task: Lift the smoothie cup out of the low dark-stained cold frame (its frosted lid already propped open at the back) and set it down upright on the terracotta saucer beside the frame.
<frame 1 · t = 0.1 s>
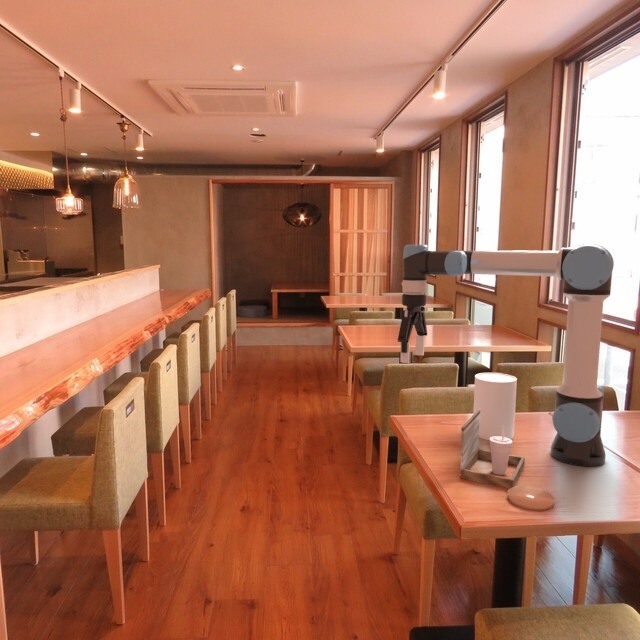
hand: (412, 358, 174), 28 cm above the table, fingers open, 13 cm apart
canister: (492, 434, 185), on the table
smoothie: (499, 472, 154), resting in cold frame
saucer: (530, 499, 137), on the table
cold frame: (493, 471, 154), on the table
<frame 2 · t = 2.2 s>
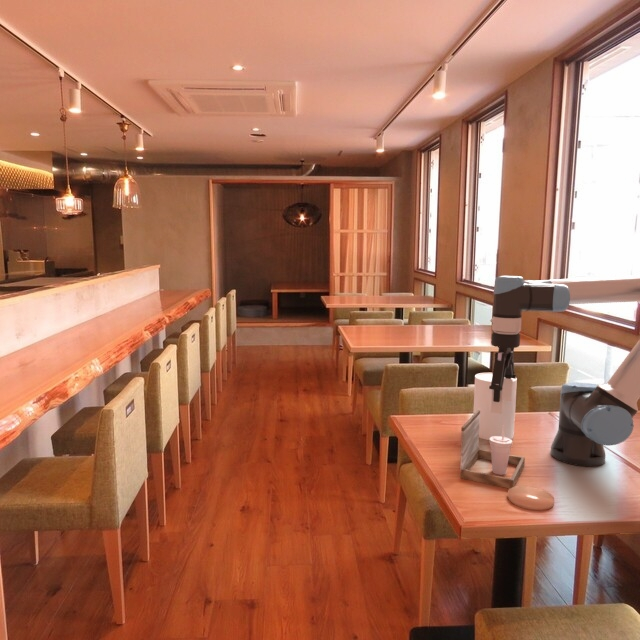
hand: (501, 406, 151), 19 cm above the table, fingers open, 13 cm apart
nothing on the table moved.
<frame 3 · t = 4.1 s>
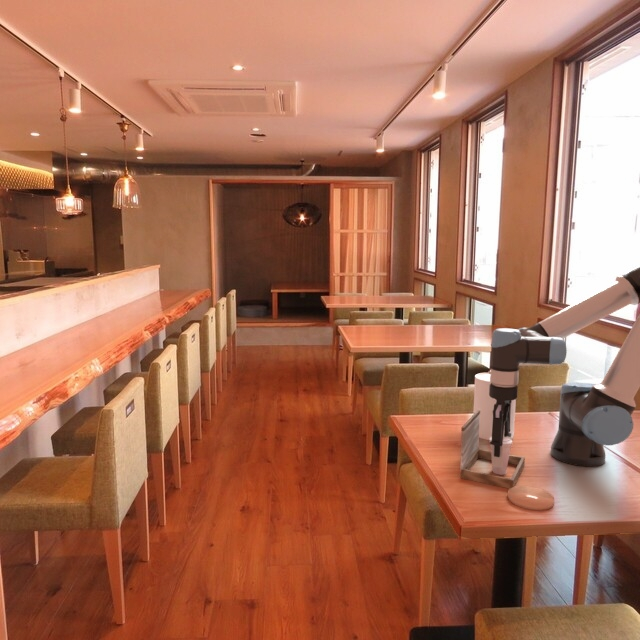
hand: (499, 462, 154), 3 cm above the table, fingers closed on smoothie, 6 cm apart
smoothie: (499, 472, 154), resting in cold frame, touching gripper
everything else where it was.
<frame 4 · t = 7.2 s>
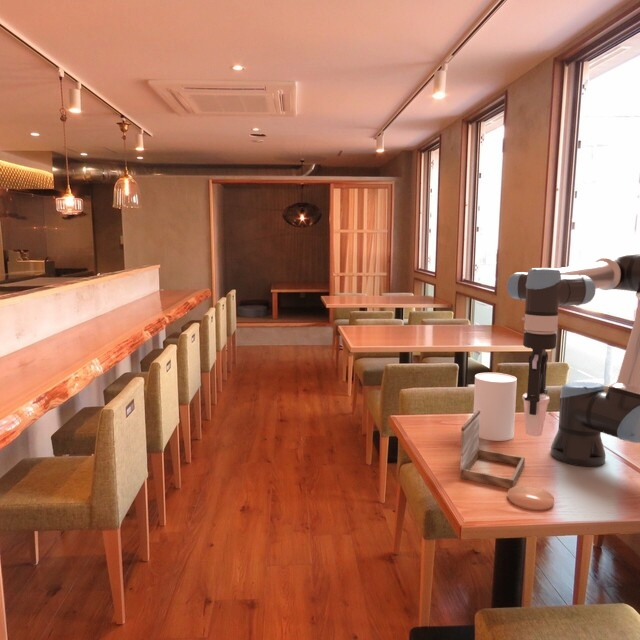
hand: (534, 422, 134), 21 cm above the table, fingers closed on smoothie, 6 cm apart
smoothie: (533, 434, 135), point 17 cm above the table, touching gripper
everything else where it was.
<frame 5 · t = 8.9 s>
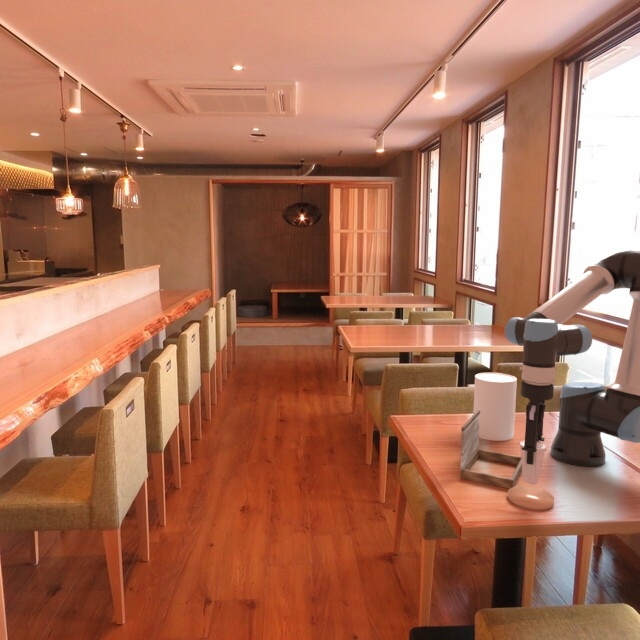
hand: (531, 470, 136), 8 cm above the table, fingers closed on smoothie, 6 cm apart
smoothie: (530, 481, 137), point 5 cm above the table, touching gripper
everything else where it was.
when the fingers open (5 cm above the table, at t = 10.2 s): smoothie stays where it is, resting on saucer.
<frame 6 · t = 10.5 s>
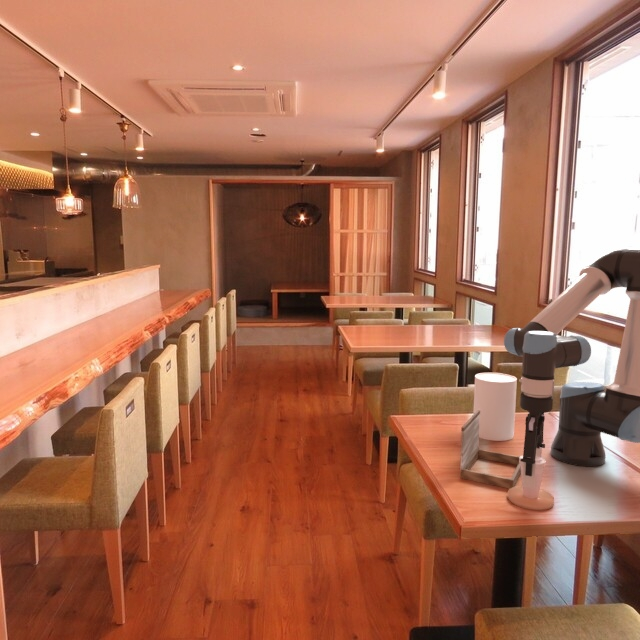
hand: (531, 479, 136), 6 cm above the table, fingers open, 9 cm apart
smoothie: (530, 496, 137), point 1 cm above the table, touching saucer
everything else where it was.
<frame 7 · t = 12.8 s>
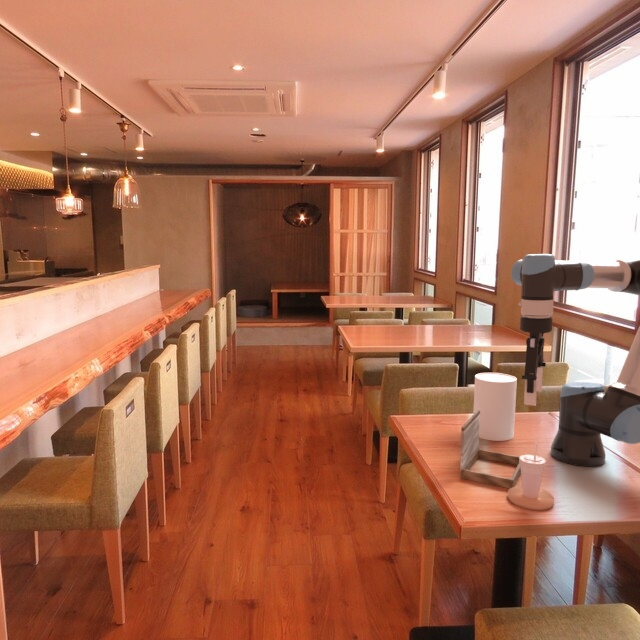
hand: (533, 397, 138), 26 cm above the table, fingers open, 13 cm apart
nothing on the table moved.
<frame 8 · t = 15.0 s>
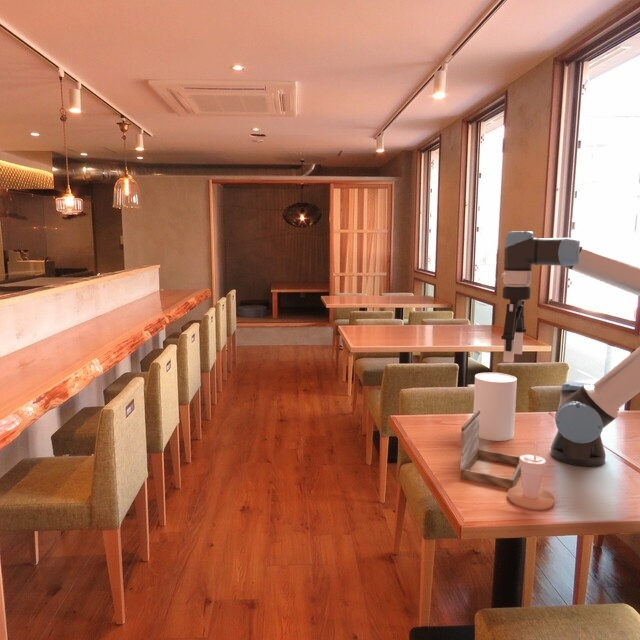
hand: (512, 357, 158), 32 cm above the table, fingers open, 13 cm apart
nothing on the table moved.
at the end: smoothie 0.1 cm from the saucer (horizontally); smoothie tilted 0°; the gripper is holding nothing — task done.
